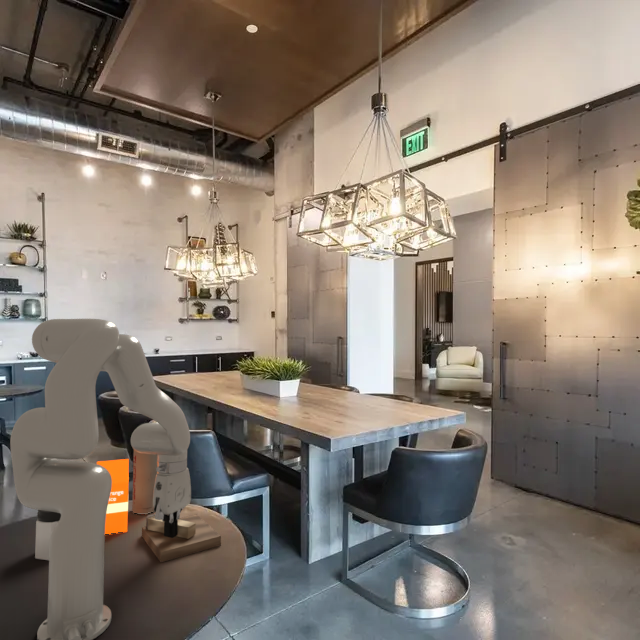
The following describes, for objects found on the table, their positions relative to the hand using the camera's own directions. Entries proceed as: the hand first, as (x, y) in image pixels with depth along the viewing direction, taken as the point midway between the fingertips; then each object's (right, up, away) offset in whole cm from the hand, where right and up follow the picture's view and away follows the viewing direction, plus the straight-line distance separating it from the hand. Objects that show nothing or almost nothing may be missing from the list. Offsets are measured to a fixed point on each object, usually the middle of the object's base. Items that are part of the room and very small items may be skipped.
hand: (170, 535), depth 118 cm
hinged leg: (-2, -1, +4) cm, 5 cm away
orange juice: (-22, -4, +12) cm, 25 cm away
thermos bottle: (-17, -5, +27) cm, 32 cm away
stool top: (+1, -4, +5) cm, 7 cm away
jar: (-29, -4, -2) cm, 30 cm away
